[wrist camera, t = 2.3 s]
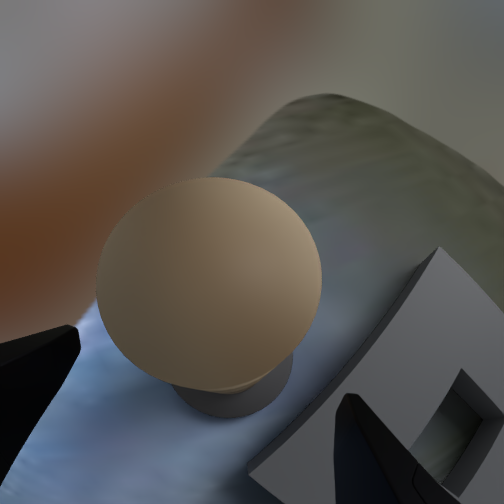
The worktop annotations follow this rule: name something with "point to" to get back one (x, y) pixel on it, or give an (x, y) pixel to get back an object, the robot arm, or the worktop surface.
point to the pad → (240, 395)
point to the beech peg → (209, 284)
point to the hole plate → (408, 389)
